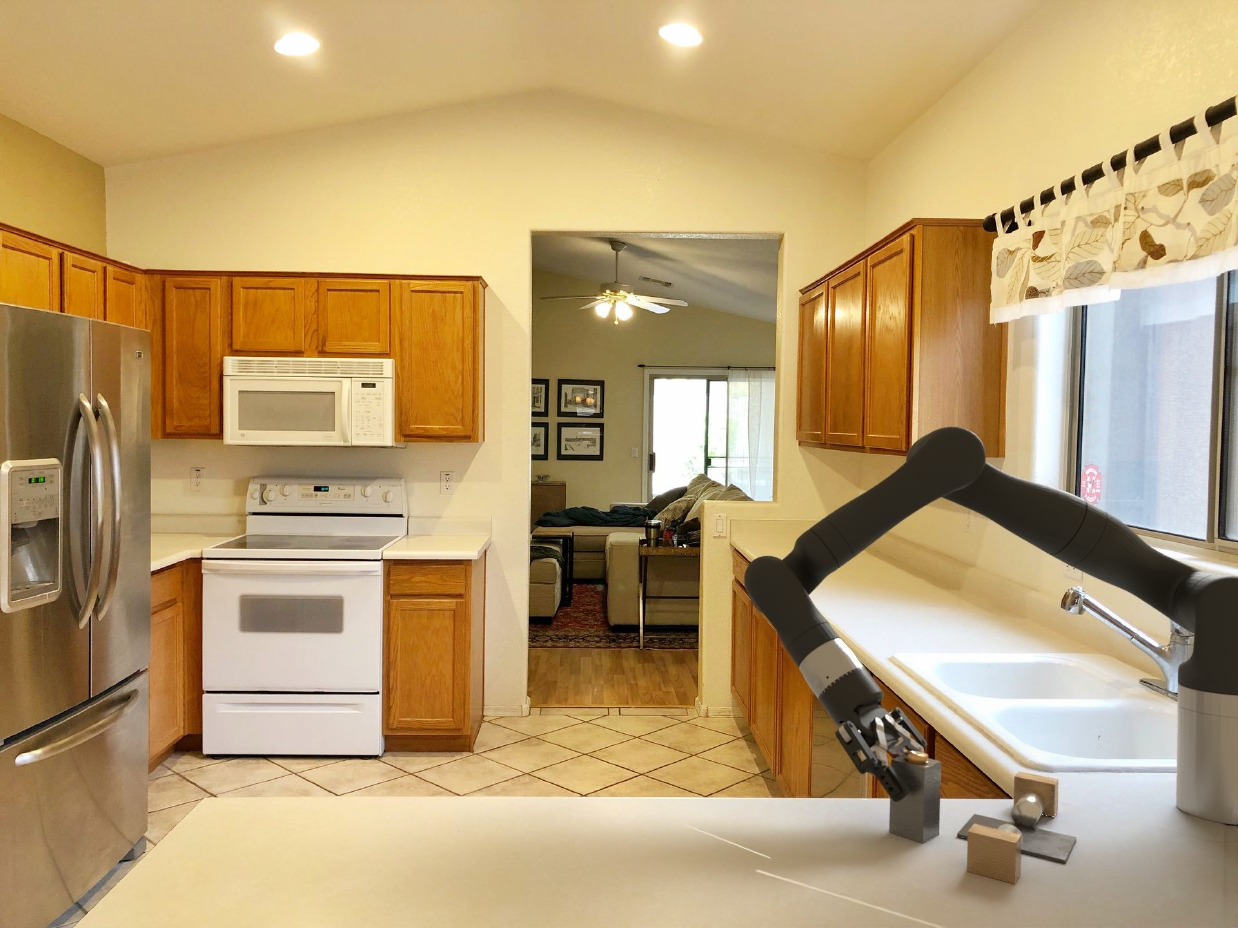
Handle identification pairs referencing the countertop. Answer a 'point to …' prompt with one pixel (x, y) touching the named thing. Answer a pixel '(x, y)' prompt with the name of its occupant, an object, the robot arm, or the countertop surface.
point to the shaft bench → (1016, 832)
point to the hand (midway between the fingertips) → (919, 790)
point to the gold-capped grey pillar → (917, 797)
